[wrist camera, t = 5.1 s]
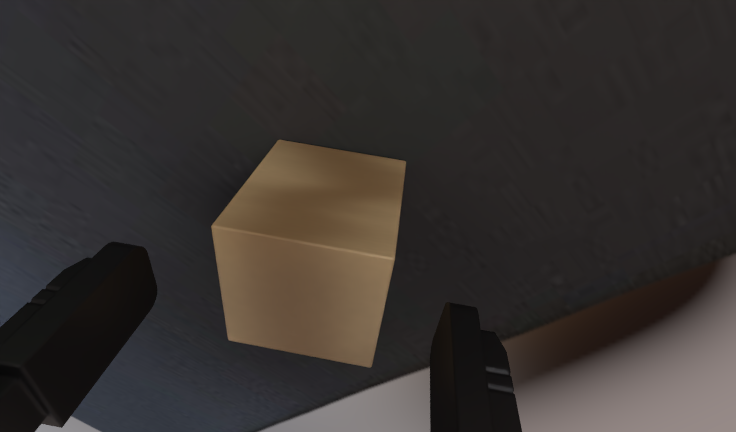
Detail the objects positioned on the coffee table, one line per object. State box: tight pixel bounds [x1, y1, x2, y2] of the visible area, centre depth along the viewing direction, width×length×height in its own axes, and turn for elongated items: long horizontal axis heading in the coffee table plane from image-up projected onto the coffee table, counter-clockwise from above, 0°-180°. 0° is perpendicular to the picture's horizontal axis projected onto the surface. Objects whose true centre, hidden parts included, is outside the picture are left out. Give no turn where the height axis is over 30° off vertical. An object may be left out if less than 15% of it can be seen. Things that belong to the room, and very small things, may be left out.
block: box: [211, 140, 406, 367], centre depth 12 cm, size 4×4×5 cm
